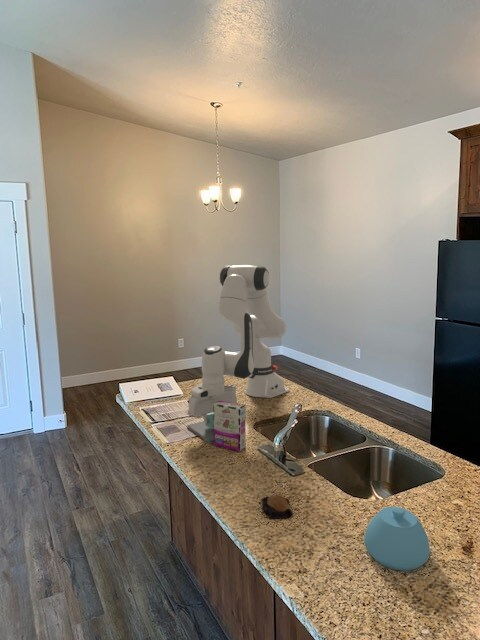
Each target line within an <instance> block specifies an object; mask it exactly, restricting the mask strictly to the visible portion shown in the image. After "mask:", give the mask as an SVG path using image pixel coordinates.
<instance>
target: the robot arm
mask: <svg viewBox="0 0 480 640" xmlns="http://www.w3.org/2000/svg"><path fill="white" fill-rule="evenodd" d="M269 282H270V274H269V271H268V269H267V268H266V267H265V266H261V265H251V264H241V265H240V264H238V265H237V264H236V265H232V264H231V265H230V264H229V265H225V266H223V268H222V269H221V270H220V273H219V283H220V284H221V286H222V288H221V291H220V297H219V302H218V311H219V314H220V315H221V317H222V318H223V319H224V320H225V321H227V322H228V323H230V324H232V325H234V327H233V328H234V331H235V333H236V334H237V335H238V336H239V337H240V351H239V352H236V351H235V352H234V351H228V350H223V348H222V346H221V347H220V346H218V345H212V346H207V347H206V348H204V349H203V352H202V356H201V373H202V378H201V382H200V383H199V384H198V385H196V386H194V387H192V388H191V389H190V391H189V393H190V394H191V395H190V396H189V398H190V400H189V399H188V402H189V403H188V413H189V414H190V415H191V416H193V417H199V416H201V417H202V418H203V421H204V423H205V424H209V419H208V418H206V416H207V413H212V412H214V410H213V404H215V403H216V402H218V401H226V402H231V403H237V404H238V402H237V401H238V399H237V394H236V393H237V389H236V388H237V387H236V386H235V385H233V384H227V385H225V377H224V376H229V377H234V378H238V379H243V380H244V379H246V378H247V382H246V383H247V384H246V388H245V392H244V394H245V395H246V396H247V395H248V396H250V397H254V398H266V399H267V398H268V399H272V398H274V397H277V396H280V395H282V394H286V393H288V392H290V389H289V388H288V387H287V386H286V385H285V381H284V379H283V377H281V376H280V375H279V374H278V373H276V372H275V371H277V370H278V368H279V366H277V365H275V364H274V365H272V352H271V349H270V347H269V346H267V345H266V344H265V343H263V342H262V340H261V339H269V340H274V339H281V338H283V336H284V335H285V334H286V331H287V324H286V322H285V320H284V318H282V317H280V316H279V315H278V314H276V312H275V311H274V310H273V309H272V307H271V306H270V303H269V300H268V295H267V294H268V293H267V287H268V285H269ZM274 370H275V371H274Z"/></svg>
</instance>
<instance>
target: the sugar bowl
mask: <svg viewBox="0 0 480 640" xmlns="http://www.w3.org/2000/svg"><path fill="white" fill-rule="evenodd" d="M363 542H364V546H365V549H366V551H367V552H368V553H369V555H370V556H371V557H372V558H373V559H374V560H376V561H377V562H378V563H379V564H381V565H382V566H384V567H386V568H388V569H392V570H395V571H400V572H401V571H403V572H405V571H413V570H416V569H418V568H421V567H422V566H423V565H424V564H426V563H427V561H428V560H429V558H430V554H431V553H430V552H431V551H430V550H431V549H430V547H431V546H430V542H429V537H428V535H427V533H426V531H425V529H424V527H423V524H422V523H421V521H420V520H419V518H418V517H417V515H415V514H414V513H413V512H411V511H410V510H408V509H405V508H402V507H400V506H387V507H384V508H382V509H380V510H378V512H377V513H376V514H375V515H374V516H373V517H372V519H371V520H370V521H369V523H368V525H367V527H366V530H365V532H364V540H363Z"/></svg>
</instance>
